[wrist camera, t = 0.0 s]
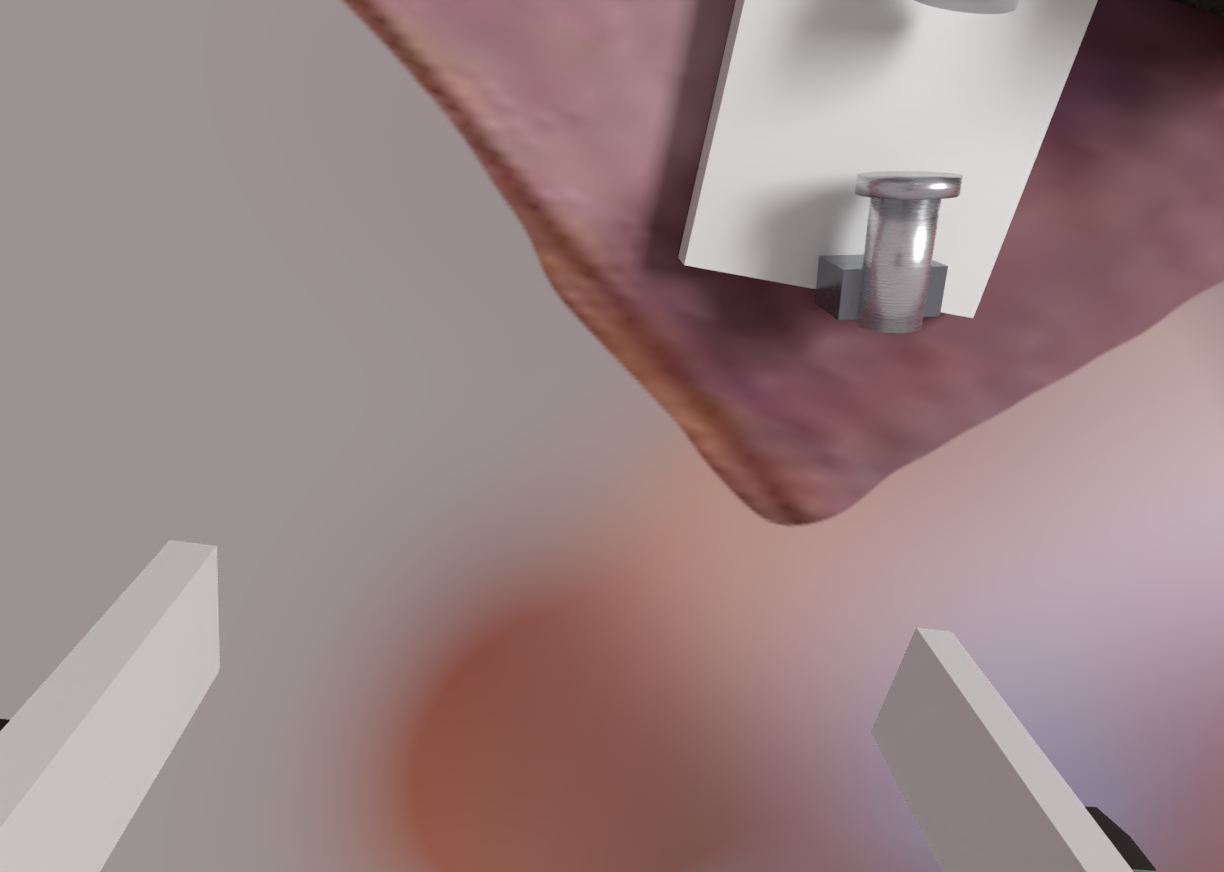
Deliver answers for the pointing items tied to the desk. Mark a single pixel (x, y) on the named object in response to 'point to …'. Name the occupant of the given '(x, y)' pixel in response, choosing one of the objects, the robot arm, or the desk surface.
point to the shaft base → (874, 127)
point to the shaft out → (891, 254)
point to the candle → (1207, 5)
